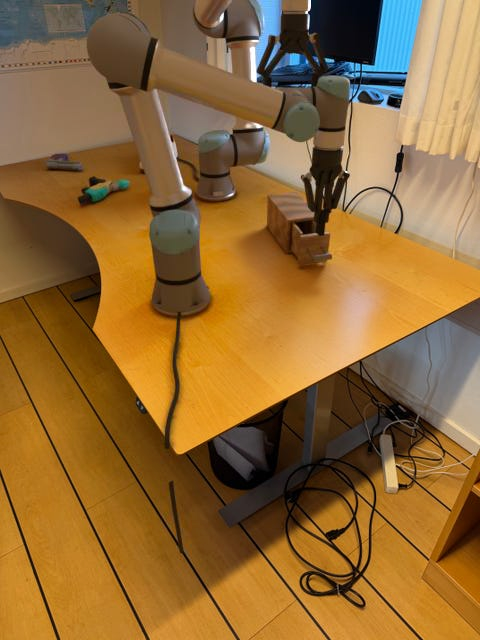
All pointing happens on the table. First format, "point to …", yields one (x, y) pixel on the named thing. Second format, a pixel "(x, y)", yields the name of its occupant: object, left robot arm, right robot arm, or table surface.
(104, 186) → the toy gun
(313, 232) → the drawer
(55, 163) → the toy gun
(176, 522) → the left robot arm
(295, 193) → the cabinet
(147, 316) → the table surface
